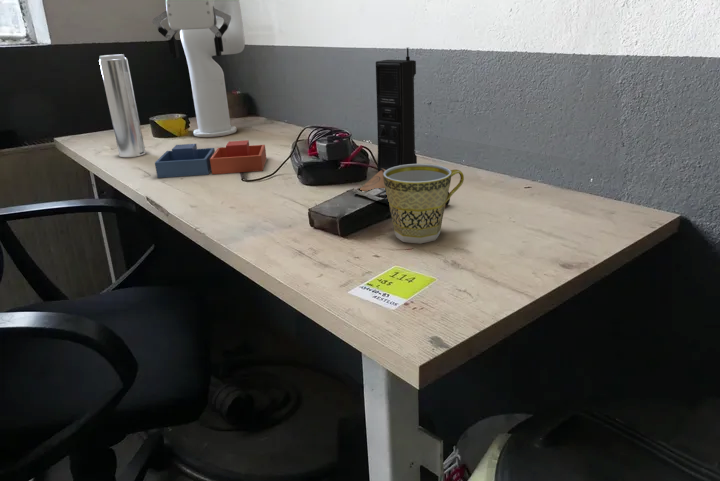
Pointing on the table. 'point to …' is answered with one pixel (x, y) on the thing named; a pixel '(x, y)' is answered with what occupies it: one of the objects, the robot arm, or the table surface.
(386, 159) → the portable radio
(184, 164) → the blue bin
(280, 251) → the table surface
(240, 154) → the red block
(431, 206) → the ceramic cup
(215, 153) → the red bin
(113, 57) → the shiny metal cylinder
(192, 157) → the blue block
